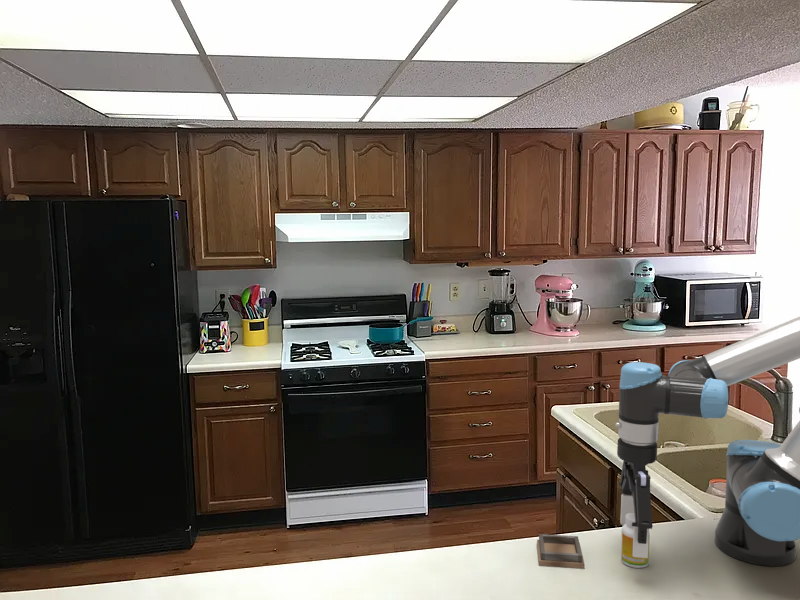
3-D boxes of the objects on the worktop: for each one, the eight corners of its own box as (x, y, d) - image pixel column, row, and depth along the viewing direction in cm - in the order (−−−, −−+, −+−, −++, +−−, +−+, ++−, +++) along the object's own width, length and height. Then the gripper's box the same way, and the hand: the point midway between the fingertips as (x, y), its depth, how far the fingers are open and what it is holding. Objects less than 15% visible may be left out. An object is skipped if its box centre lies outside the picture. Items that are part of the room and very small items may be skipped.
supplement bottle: (651, 570, 127) (652, 524, 126) (622, 567, 128) (623, 522, 127) (646, 556, 133) (647, 512, 131) (619, 554, 134) (620, 510, 133)
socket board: (579, 546, 137) (579, 535, 137) (584, 568, 128) (584, 556, 128) (537, 543, 139) (537, 533, 138) (539, 565, 130) (539, 554, 130)
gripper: (608, 419, 140) (605, 511, 143) (629, 461, 116) (625, 570, 118) (643, 421, 139) (639, 513, 142) (673, 463, 115) (667, 574, 117)
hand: (633, 539), depth 130 cm, fingers open, 13 cm apart
